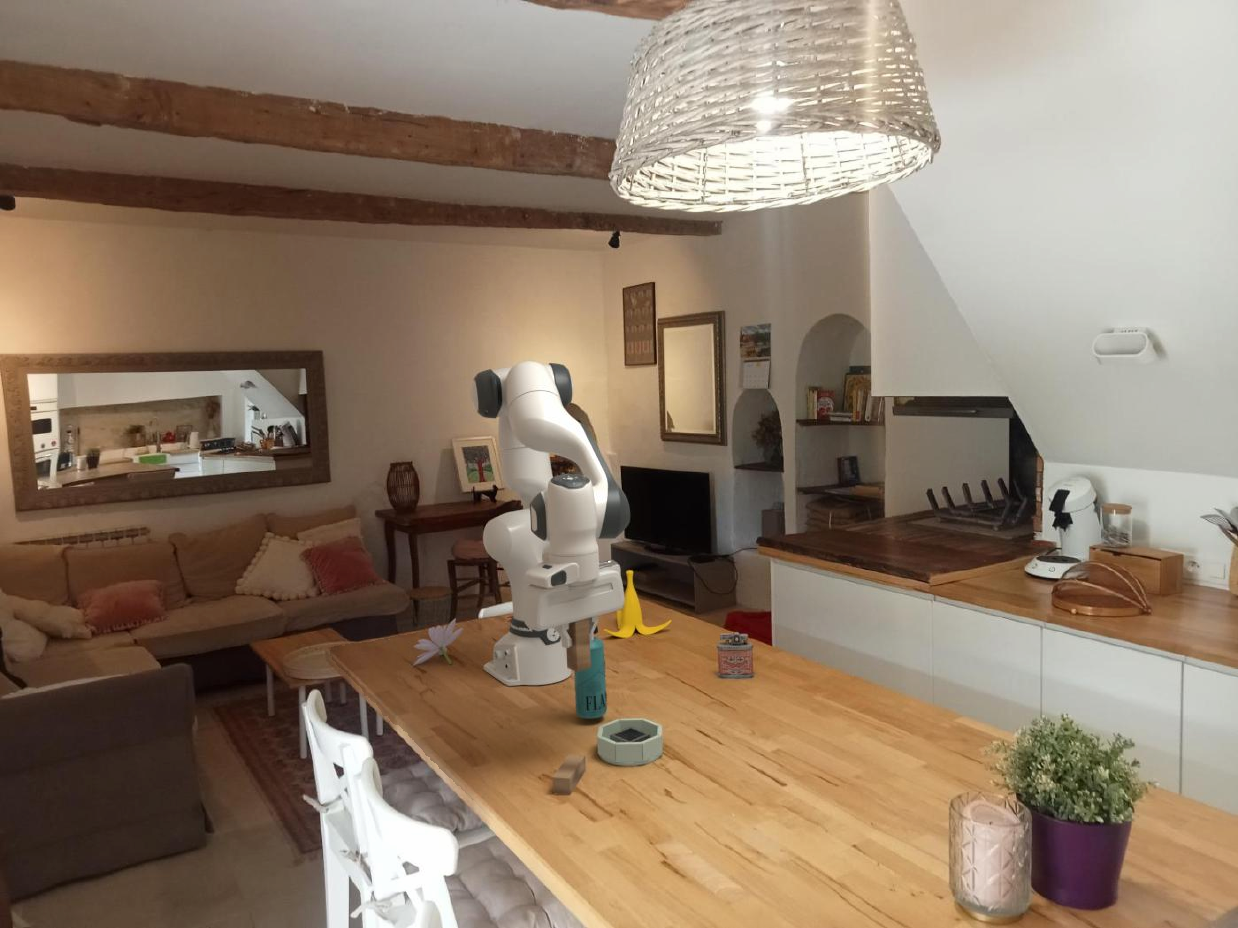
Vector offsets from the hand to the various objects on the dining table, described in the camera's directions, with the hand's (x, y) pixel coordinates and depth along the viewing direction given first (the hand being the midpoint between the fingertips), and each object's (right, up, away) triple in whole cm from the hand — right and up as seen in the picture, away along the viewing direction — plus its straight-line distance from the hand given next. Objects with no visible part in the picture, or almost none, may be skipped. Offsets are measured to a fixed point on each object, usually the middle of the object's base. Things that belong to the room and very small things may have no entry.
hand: (577, 644), depth 158 cm
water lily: (-37, -17, +61) cm, 74 cm away
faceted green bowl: (+9, -21, +4) cm, 23 cm away
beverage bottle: (+2, -19, +20) cm, 28 cm away
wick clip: (+9, -21, +4) cm, 23 cm away
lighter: (+33, -16, +41) cm, 55 cm away
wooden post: (0, -4, 0) cm, 4 cm away
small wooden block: (-1, -22, -7) cm, 23 cm away
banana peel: (+9, -13, +77) cm, 79 cm away
